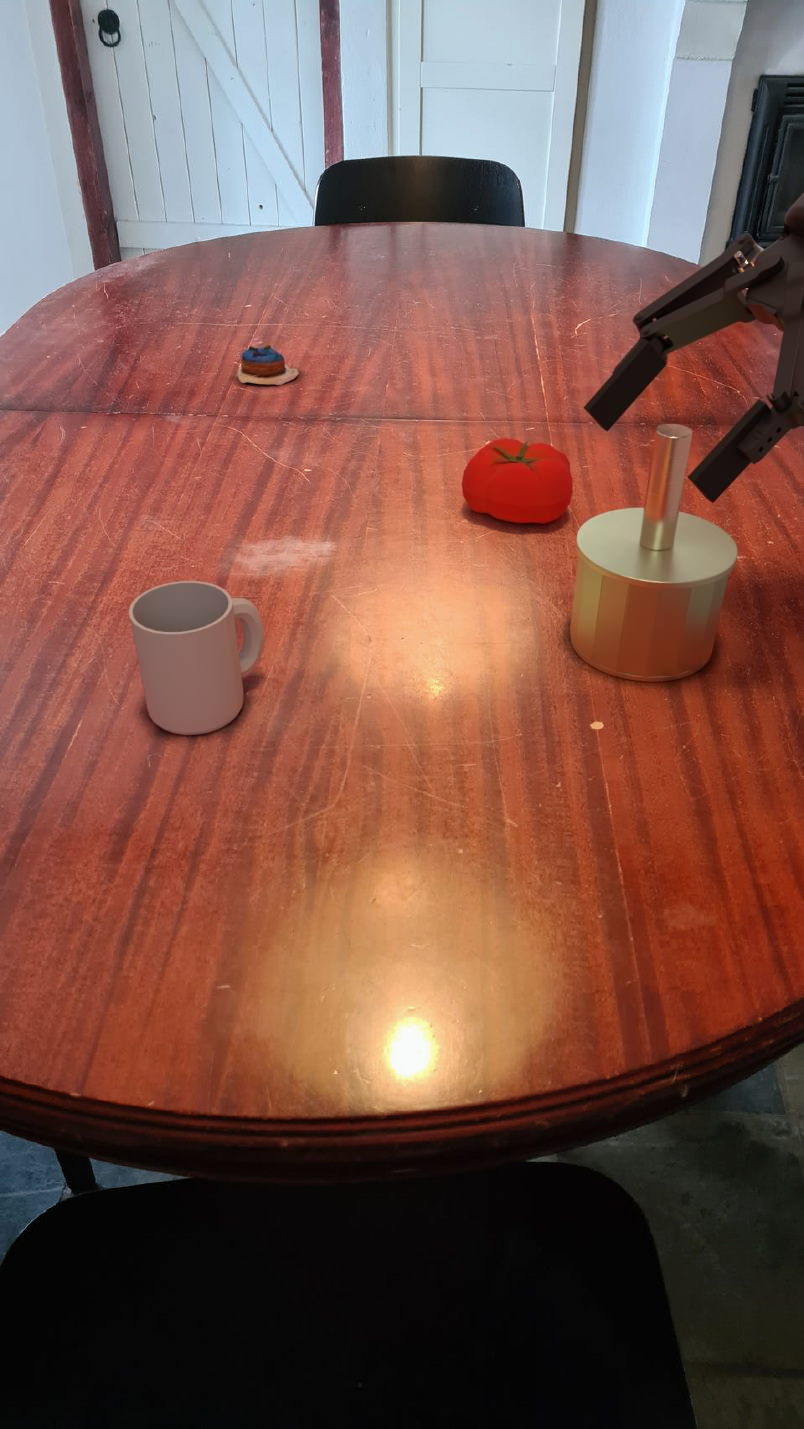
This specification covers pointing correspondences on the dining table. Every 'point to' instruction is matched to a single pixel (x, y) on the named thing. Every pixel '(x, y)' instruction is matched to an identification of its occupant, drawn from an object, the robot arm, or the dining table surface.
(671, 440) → the lid
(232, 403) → the dining table surface
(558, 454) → the tomato
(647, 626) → the round metal container
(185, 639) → the cup
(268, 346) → the dessert
